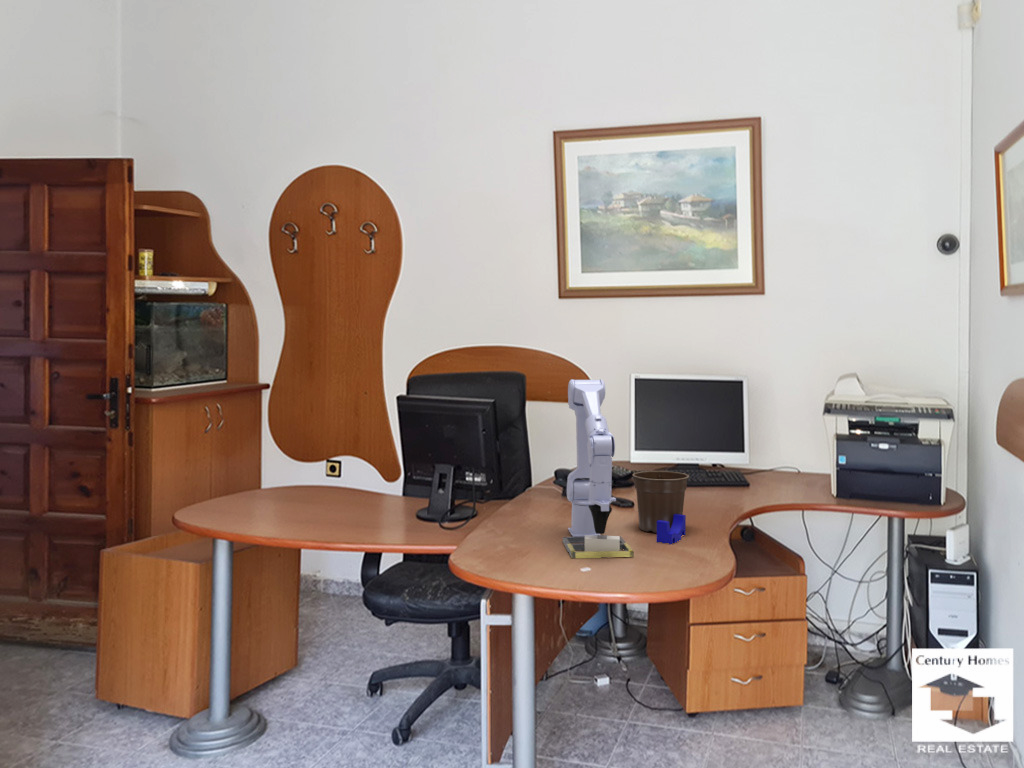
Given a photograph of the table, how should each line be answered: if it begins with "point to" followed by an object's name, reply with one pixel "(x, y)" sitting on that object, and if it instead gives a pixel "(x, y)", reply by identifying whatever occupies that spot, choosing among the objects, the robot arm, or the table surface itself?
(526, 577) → the table surface
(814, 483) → the table surface
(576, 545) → the rack
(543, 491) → the table surface
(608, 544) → the white banded pillar
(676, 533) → the cable clip
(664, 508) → the plant pot
